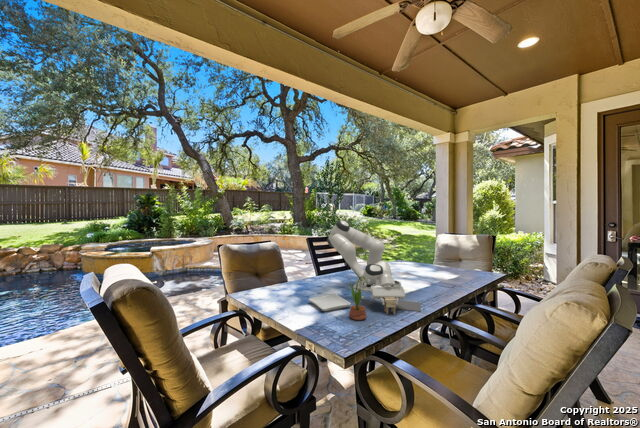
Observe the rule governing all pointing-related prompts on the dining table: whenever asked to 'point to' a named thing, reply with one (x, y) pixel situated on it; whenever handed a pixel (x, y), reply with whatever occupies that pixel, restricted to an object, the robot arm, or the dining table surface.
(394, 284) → the robot arm
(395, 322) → the dining table surface
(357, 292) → the potted flower
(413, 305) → the grey-brown square panel
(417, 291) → the dining table surface
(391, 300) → the birch stool
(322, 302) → the salad plate
